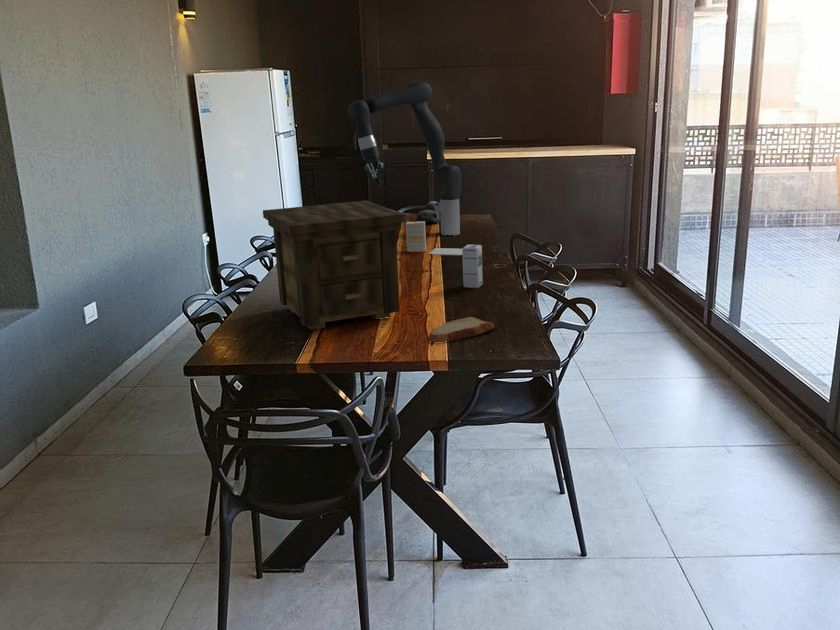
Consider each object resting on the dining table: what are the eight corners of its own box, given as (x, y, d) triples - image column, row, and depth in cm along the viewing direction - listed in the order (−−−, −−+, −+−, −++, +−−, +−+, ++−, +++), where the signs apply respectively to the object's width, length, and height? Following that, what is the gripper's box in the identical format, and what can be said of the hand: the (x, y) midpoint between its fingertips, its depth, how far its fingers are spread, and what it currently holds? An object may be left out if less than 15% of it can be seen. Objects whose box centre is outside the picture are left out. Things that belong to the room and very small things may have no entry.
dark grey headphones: (411, 222, 395) (418, 198, 397) (432, 229, 399) (438, 205, 400) (420, 218, 381) (427, 193, 382) (441, 225, 384) (448, 200, 386)
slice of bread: (426, 344, 204) (426, 331, 203) (435, 324, 221) (435, 312, 220) (491, 345, 201) (491, 332, 200) (495, 325, 218) (495, 313, 217)
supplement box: (426, 250, 324) (425, 220, 320) (425, 252, 319) (424, 222, 315) (408, 250, 325) (406, 221, 321) (406, 252, 320) (405, 223, 316)
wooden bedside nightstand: (371, 293, 256) (365, 200, 247) (409, 319, 226) (405, 214, 216) (272, 308, 243) (262, 210, 234) (299, 337, 213) (289, 226, 203)
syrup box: (478, 288, 258) (478, 247, 254) (462, 287, 260) (461, 247, 256) (483, 284, 264) (482, 244, 259) (467, 283, 266) (466, 244, 261)
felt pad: (435, 249, 326) (435, 248, 326) (475, 249, 321) (475, 248, 321) (428, 254, 315) (428, 253, 315) (469, 255, 310) (469, 254, 310)
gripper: (384, 142, 317) (394, 181, 321) (366, 147, 327) (376, 185, 331) (370, 146, 312) (382, 186, 316) (353, 151, 322) (364, 189, 326)
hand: (379, 185), depth 324 cm, fingers closed
